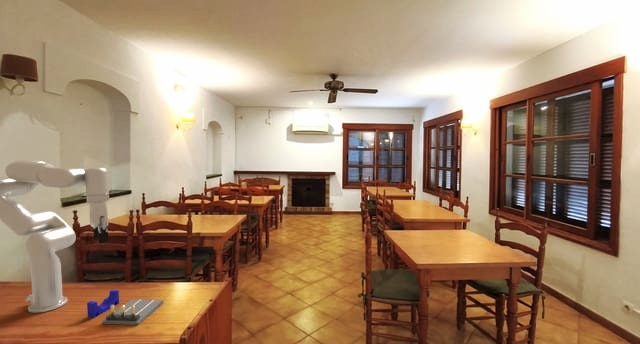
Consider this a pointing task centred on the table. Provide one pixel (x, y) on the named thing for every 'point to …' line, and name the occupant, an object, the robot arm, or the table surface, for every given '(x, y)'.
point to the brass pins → (123, 314)
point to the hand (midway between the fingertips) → (101, 240)
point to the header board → (137, 311)
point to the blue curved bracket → (103, 304)
